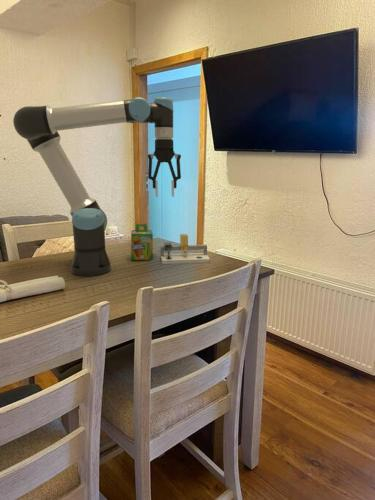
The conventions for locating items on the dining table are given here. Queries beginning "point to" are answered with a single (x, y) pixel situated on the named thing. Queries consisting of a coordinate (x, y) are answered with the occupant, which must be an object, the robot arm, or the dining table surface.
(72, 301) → the dining table surface
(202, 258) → the hole plate
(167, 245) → the fixed leg
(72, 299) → the dining table surface
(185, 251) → the block
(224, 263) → the dining table surface
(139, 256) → the chalk box
